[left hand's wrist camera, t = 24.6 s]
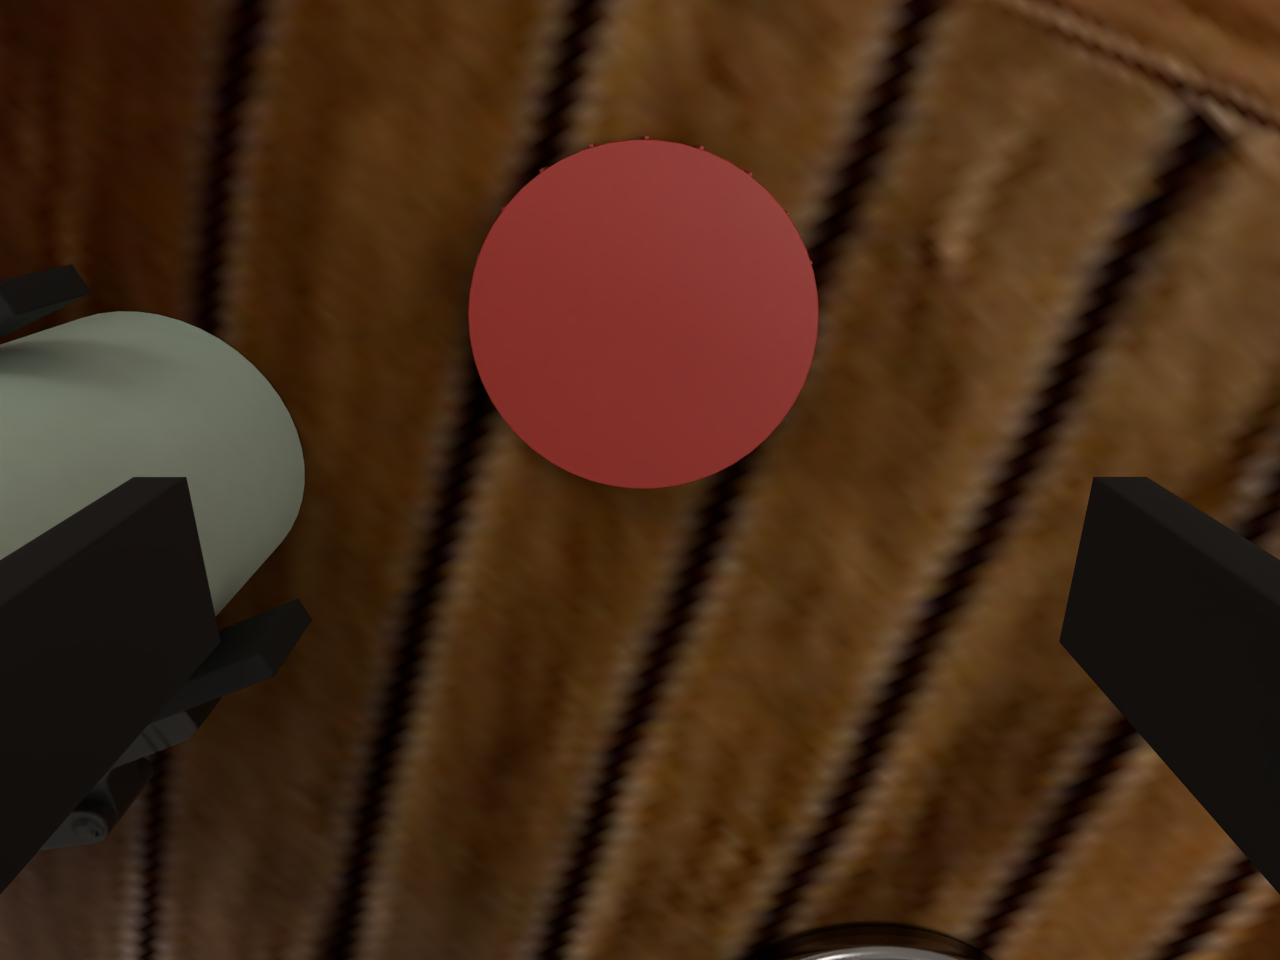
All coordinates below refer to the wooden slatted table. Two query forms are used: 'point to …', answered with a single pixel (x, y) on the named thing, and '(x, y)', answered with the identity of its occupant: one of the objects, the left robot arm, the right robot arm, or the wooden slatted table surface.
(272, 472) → the jar
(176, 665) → the left robot arm
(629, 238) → the lid
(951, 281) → the wooden slatted table surface
